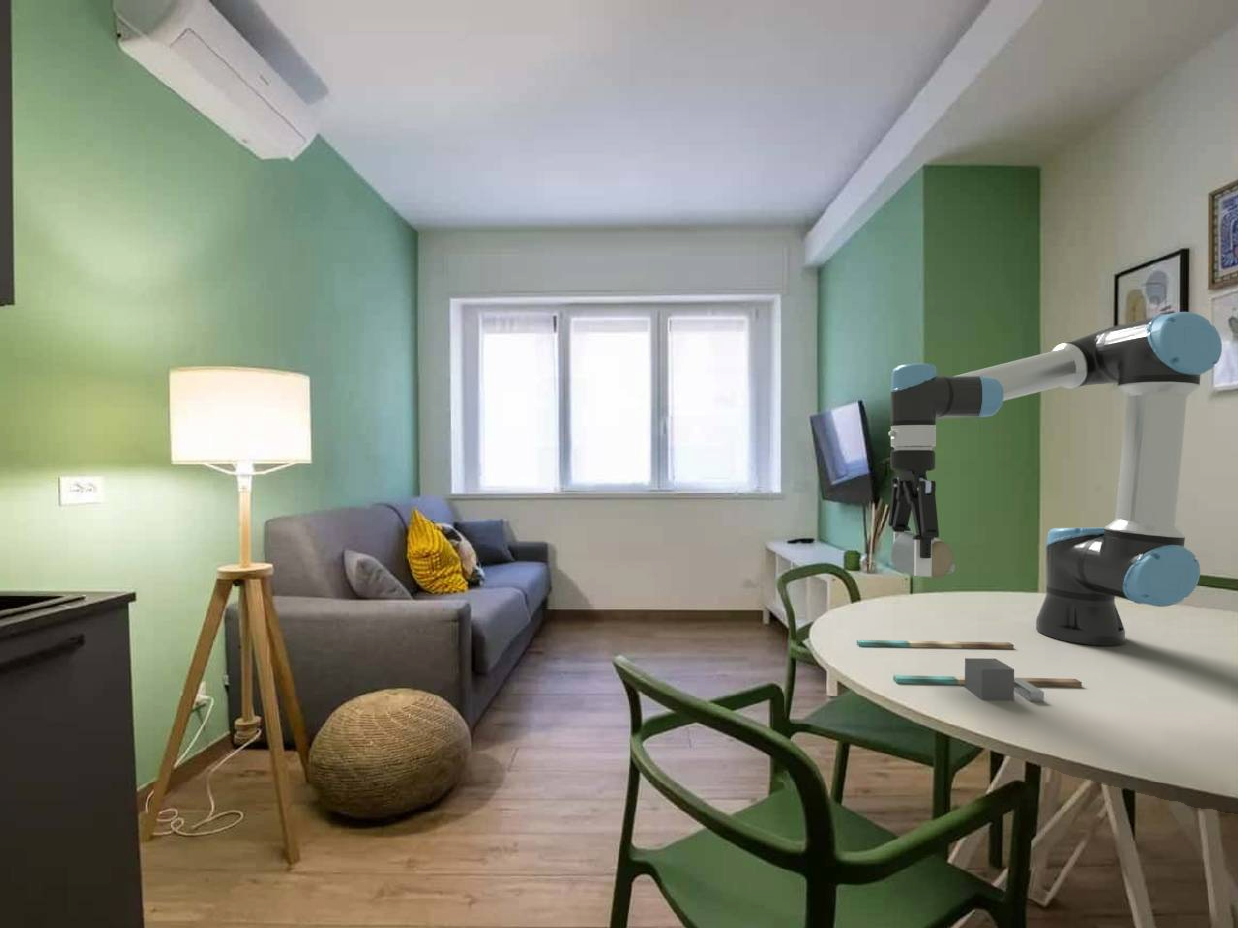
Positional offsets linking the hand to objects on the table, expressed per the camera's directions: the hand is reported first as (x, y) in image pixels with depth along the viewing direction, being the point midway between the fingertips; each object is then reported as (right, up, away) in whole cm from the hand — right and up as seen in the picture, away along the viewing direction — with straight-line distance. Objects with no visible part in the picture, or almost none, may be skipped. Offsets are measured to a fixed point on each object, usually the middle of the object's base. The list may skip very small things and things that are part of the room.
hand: (911, 570), depth 113 cm
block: (+8, -15, -14) cm, 22 cm away
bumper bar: (+12, -17, -14) cm, 25 cm away
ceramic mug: (+3, -1, +1) cm, 4 cm away
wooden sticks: (+8, -17, 0) cm, 19 cm away
